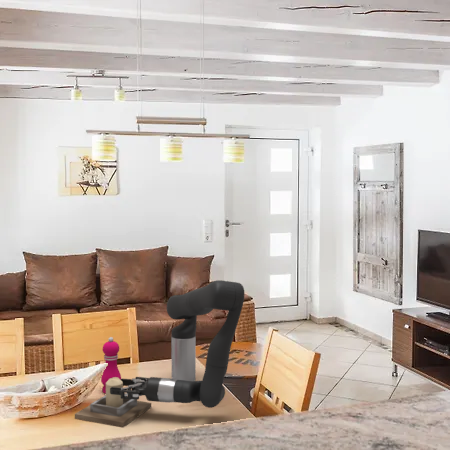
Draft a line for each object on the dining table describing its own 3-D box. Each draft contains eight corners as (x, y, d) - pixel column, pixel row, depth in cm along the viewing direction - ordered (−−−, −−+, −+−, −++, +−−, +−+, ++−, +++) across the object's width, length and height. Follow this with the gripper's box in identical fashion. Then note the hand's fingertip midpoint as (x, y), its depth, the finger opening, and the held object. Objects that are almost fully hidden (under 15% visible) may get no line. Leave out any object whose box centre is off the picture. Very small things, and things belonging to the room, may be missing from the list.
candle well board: (106, 399, 205) (105, 388, 205) (151, 407, 198) (151, 395, 198) (74, 418, 188) (74, 406, 188) (123, 427, 182) (123, 414, 181)
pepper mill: (97, 393, 211) (96, 338, 210) (108, 386, 218) (108, 333, 217) (114, 395, 209) (113, 340, 207) (125, 389, 215) (124, 335, 214)
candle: (119, 412, 190) (119, 381, 189) (103, 410, 191) (103, 380, 190) (125, 405, 195) (125, 376, 195) (109, 404, 196) (109, 375, 196)
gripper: (169, 371, 196) (123, 368, 199) (155, 385, 182) (106, 381, 185) (169, 393, 196) (123, 389, 200) (155, 409, 182) (106, 405, 186)
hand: (115, 386), depth 193 cm, fingers open, 8 cm apart
